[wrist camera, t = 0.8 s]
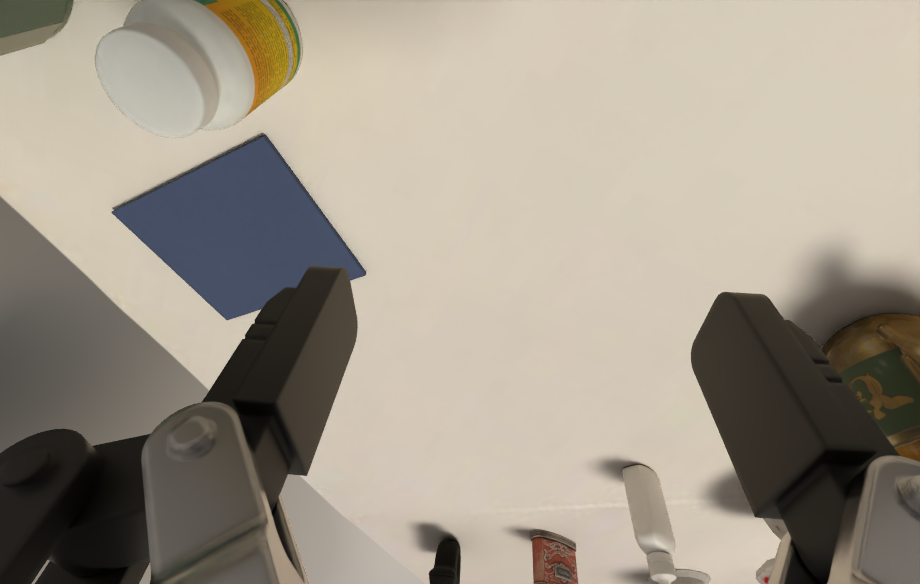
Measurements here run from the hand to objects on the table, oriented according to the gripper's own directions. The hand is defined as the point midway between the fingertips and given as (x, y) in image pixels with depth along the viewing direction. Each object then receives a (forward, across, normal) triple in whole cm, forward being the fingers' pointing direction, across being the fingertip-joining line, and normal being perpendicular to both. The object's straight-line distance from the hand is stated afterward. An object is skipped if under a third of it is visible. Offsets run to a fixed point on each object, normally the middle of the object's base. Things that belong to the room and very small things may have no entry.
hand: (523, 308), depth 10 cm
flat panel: (+20, +20, +12) cm, 30 cm away
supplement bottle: (+19, +14, -2) cm, 24 cm away
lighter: (+21, -12, +65) cm, 69 cm away
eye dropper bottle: (+20, -19, +43) cm, 51 cm away
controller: (+21, +4, +70) cm, 73 cm away
